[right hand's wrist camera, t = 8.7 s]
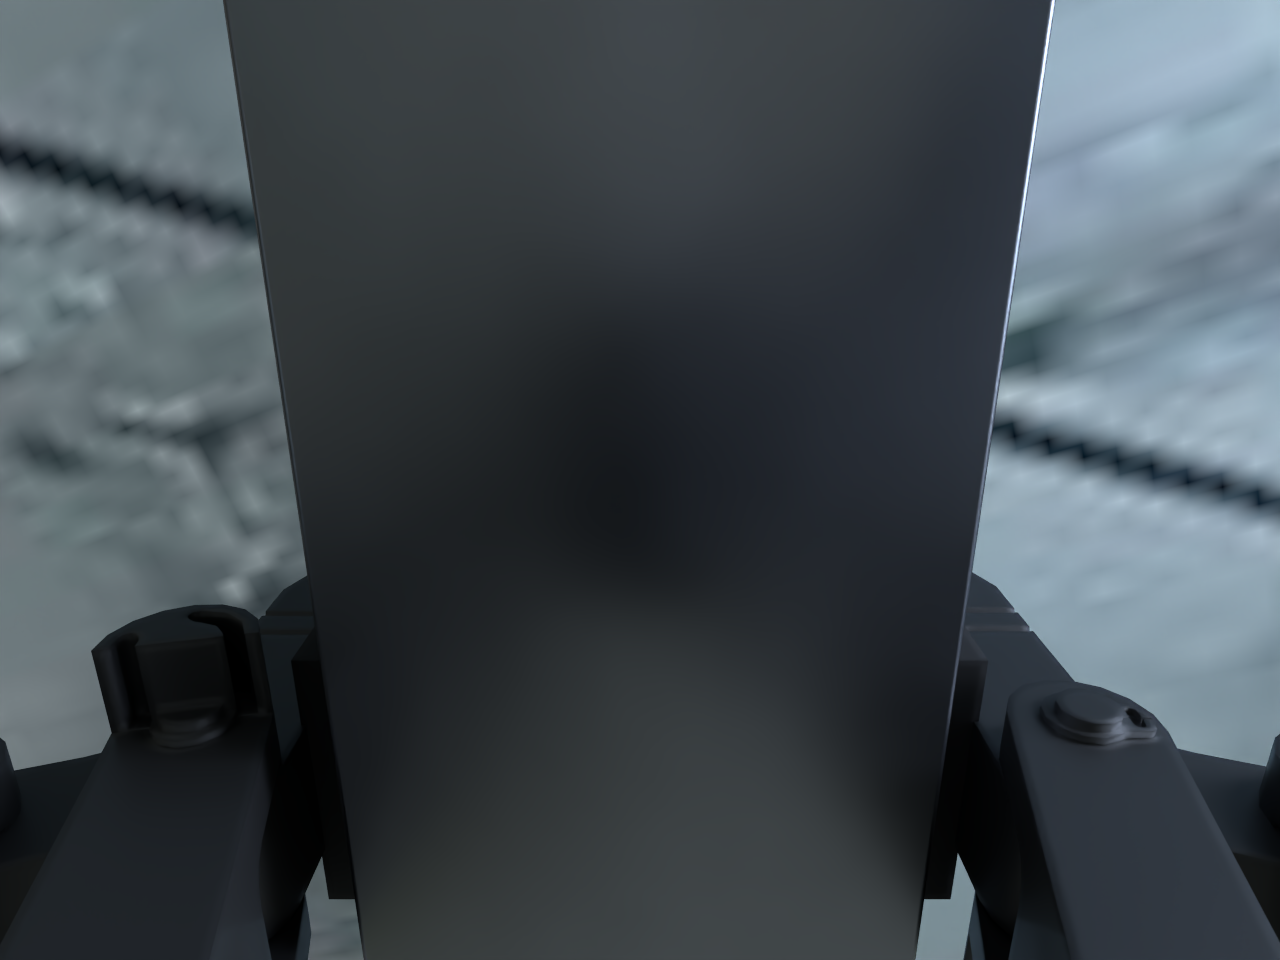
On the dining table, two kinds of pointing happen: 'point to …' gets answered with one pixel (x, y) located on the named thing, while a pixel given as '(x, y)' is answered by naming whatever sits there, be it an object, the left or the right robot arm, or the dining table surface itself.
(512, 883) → the bar
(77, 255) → the dining table surface
